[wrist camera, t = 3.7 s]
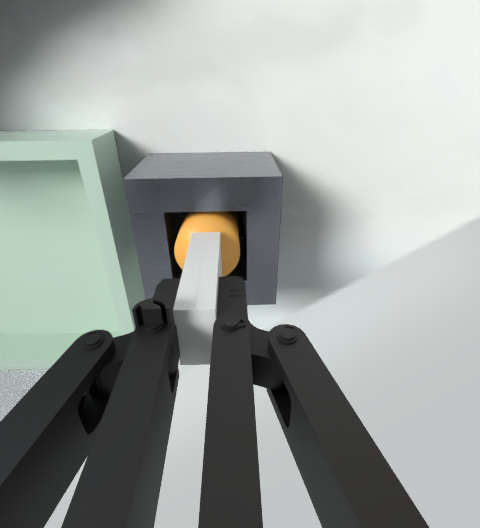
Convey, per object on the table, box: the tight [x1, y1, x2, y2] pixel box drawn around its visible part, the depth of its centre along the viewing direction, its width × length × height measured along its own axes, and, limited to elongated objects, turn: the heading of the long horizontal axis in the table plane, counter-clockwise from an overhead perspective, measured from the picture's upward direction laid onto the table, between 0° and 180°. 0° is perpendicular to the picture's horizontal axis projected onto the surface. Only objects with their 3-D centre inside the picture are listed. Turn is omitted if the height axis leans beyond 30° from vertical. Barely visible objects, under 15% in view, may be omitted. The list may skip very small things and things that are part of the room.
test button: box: [174, 211, 240, 277], centre depth 20 cm, size 4×4×5 cm
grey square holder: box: [123, 152, 283, 305], centre depth 21 cm, size 8×8×6 cm
